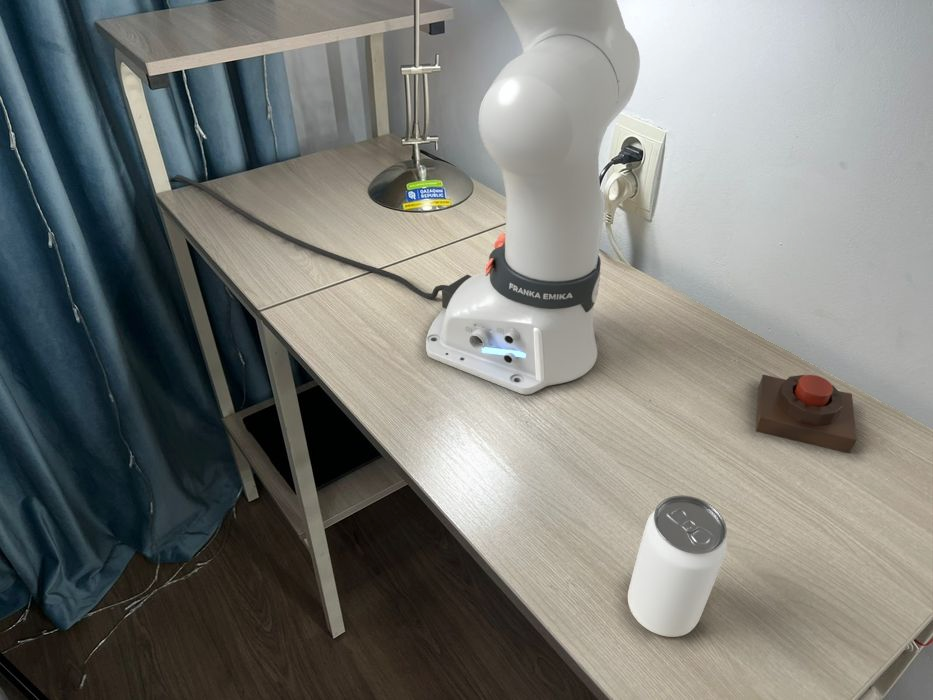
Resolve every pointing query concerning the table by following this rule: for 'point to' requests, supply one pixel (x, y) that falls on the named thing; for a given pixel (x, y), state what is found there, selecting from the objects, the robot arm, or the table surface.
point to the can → (677, 565)
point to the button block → (805, 415)
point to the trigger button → (813, 390)
